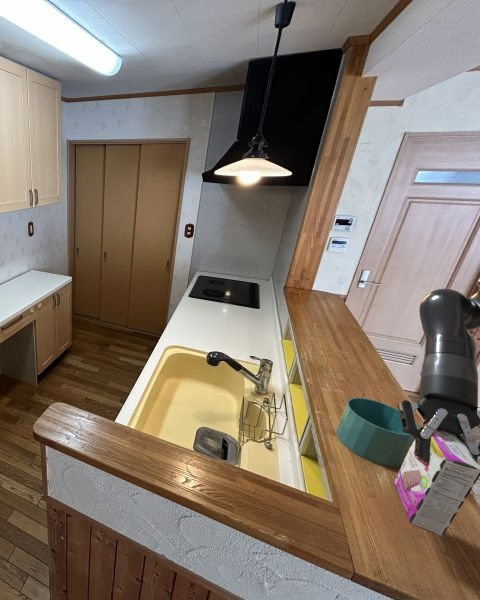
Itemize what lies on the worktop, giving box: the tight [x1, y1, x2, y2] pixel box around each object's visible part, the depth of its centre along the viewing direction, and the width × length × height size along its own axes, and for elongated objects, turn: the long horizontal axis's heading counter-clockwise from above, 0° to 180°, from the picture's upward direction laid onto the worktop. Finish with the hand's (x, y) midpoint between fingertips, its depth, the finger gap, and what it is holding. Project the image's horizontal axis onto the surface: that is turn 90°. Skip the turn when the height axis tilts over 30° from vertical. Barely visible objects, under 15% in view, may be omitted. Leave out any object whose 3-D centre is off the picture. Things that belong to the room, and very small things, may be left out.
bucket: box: [335, 397, 420, 467], centre depth 86 cm, size 14×14×10 cm
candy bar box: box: [392, 421, 480, 537], centre depth 62 cm, size 11×5×16 cm, turn 150°
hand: (444, 467), depth 59 cm, fingers closed on candy bar box, 5 cm apart
